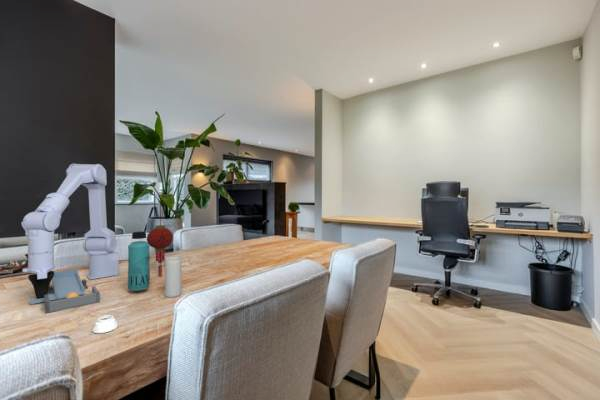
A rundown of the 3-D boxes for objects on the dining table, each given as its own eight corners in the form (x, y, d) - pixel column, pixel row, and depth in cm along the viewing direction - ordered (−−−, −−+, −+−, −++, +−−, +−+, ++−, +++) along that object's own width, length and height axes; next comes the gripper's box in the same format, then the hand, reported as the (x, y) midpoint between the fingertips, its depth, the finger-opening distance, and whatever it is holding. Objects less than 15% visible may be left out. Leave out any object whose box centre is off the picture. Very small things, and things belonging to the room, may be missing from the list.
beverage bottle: (126, 296, 88) (126, 233, 88) (128, 290, 94) (128, 230, 94) (149, 293, 91) (150, 232, 91) (150, 287, 97) (150, 230, 97)
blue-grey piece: (77, 277, 102) (77, 269, 102) (84, 294, 89) (84, 285, 89) (29, 284, 93) (29, 275, 93) (29, 305, 81) (29, 294, 80)
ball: (78, 290, 85) (79, 293, 82) (78, 299, 85) (79, 303, 83) (65, 292, 82) (66, 295, 80) (65, 302, 83) (66, 305, 80)
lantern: (175, 277, 109) (175, 200, 109) (147, 281, 104) (148, 200, 103) (170, 271, 117) (171, 200, 117) (145, 275, 112) (145, 200, 111)
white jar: (122, 326, 69) (107, 323, 70) (122, 314, 69) (107, 312, 70) (103, 336, 64) (87, 333, 66) (103, 323, 64) (87, 320, 66)
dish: (94, 294, 90) (94, 285, 90) (99, 302, 84) (99, 292, 84) (44, 304, 82) (44, 294, 82) (45, 313, 75) (45, 303, 75)
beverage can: (184, 294, 91) (184, 257, 91) (173, 299, 87) (173, 260, 87) (172, 292, 93) (172, 256, 93) (161, 297, 88) (161, 259, 88)
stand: (86, 285, 98) (86, 278, 98) (87, 288, 95) (87, 280, 95) (46, 292, 91) (46, 284, 91) (46, 295, 88) (46, 287, 88)
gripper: (22, 250, 86) (22, 294, 86) (21, 258, 75) (22, 308, 75) (53, 247, 90) (53, 289, 91) (56, 254, 80) (56, 301, 80)
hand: (41, 297), depth 83 cm, fingers closed, pressing on blue-grey piece
